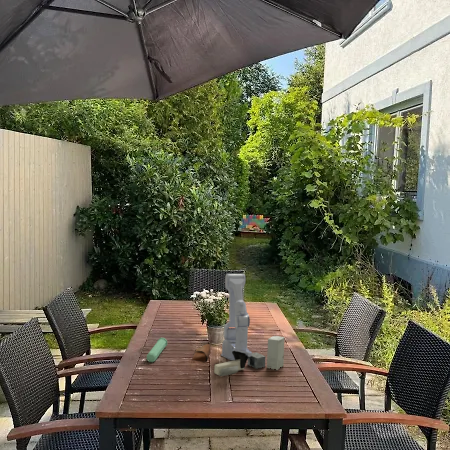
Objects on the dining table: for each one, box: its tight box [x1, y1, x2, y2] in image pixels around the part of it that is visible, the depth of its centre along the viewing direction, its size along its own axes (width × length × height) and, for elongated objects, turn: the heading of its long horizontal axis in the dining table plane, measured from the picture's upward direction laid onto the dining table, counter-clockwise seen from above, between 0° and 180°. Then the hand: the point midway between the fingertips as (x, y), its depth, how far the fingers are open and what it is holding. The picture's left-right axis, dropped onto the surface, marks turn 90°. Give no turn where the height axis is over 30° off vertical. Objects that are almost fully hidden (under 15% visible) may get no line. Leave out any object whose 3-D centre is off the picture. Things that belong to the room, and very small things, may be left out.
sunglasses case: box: [191, 343, 211, 362], centre depth 254 cm, size 18×7×7 cm
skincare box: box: [266, 335, 285, 371], centre depth 241 cm, size 8×6×15 cm
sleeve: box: [218, 365, 239, 377], centre depth 230 cm, size 5×10×4 cm, turn 127°
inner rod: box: [213, 359, 246, 376], centre depth 232 cm, size 3×16×4 cm, turn 126°
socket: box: [247, 352, 266, 370], centre depth 242 cm, size 7×6×5 cm
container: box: [146, 337, 168, 363], centre depth 252 cm, size 6×6×25 cm
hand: (240, 366), depth 236 cm, fingers closed on inner rod, 3 cm apart
